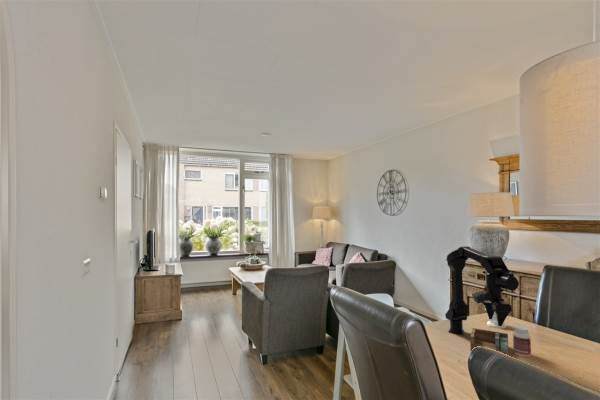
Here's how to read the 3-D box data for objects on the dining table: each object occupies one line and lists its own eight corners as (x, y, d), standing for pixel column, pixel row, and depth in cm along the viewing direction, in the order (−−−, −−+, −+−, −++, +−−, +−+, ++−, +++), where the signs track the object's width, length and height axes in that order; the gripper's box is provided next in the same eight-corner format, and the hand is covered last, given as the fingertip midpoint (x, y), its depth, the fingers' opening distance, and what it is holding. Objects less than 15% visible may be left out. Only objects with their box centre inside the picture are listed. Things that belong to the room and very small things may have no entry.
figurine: (512, 326, 174) (511, 306, 174) (504, 330, 168) (503, 309, 169) (488, 320, 183) (488, 301, 184) (480, 324, 178) (479, 304, 179)
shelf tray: (472, 340, 155) (472, 327, 155) (508, 346, 147) (507, 332, 148) (470, 350, 144) (470, 335, 144) (508, 357, 136) (508, 342, 137)
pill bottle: (534, 358, 135) (533, 330, 136) (517, 356, 137) (516, 329, 137) (527, 351, 141) (526, 326, 142) (511, 350, 143) (510, 325, 143)
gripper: (466, 281, 152) (467, 315, 151) (482, 289, 133) (483, 329, 132) (492, 281, 150) (493, 316, 149) (512, 290, 132) (513, 330, 131)
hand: (495, 322), depth 140 cm, fingers open, 9 cm apart
